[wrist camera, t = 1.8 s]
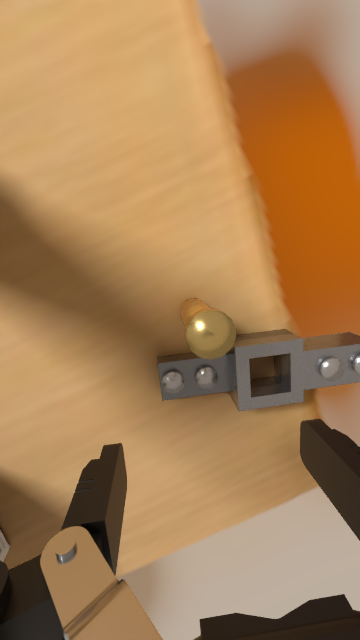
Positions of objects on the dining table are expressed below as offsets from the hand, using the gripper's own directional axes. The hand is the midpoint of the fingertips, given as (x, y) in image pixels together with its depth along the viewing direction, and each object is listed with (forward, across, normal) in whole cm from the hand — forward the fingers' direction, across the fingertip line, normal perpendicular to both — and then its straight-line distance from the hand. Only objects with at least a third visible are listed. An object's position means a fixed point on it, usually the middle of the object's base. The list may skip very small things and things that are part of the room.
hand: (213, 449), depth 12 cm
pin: (+19, -2, -3) cm, 19 cm away
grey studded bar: (+19, -9, +4) cm, 21 cm away
